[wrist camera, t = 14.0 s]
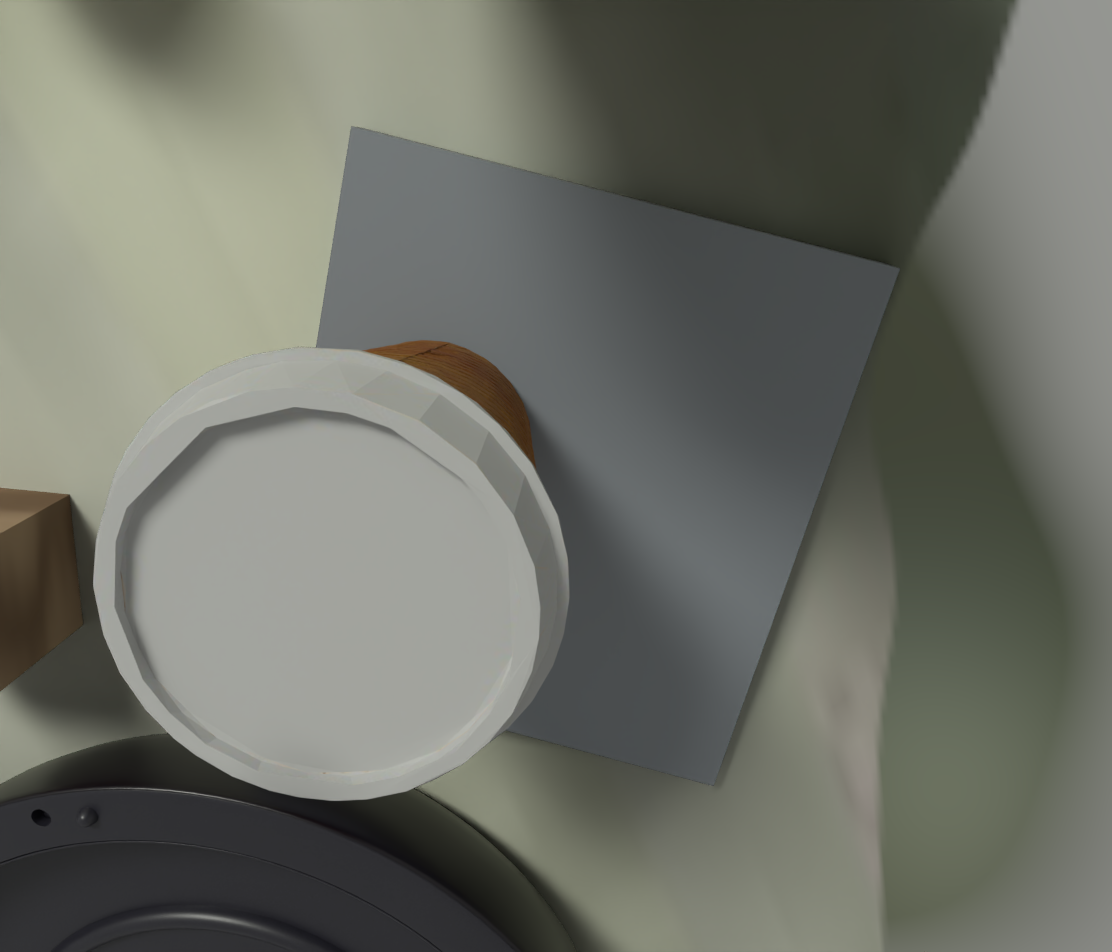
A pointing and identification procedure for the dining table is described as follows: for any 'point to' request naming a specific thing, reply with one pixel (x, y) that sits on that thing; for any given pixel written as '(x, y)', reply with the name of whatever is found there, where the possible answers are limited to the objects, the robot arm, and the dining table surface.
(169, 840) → the round tray
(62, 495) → the walnut block
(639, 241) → the slate board
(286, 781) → the disposable coffee cup
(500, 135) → the dining table surface
